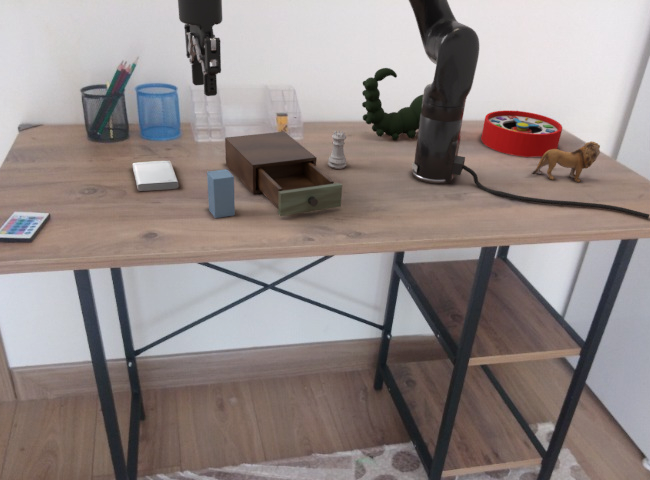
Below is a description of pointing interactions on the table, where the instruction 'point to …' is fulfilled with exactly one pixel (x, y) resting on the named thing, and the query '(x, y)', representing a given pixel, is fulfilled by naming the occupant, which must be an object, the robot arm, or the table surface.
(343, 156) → the rook chess piece
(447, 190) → the table surface
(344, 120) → the table surface
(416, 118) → the toy figurine
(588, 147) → the lion figurine
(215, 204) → the slate block
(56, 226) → the table surface
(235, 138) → the cabinet
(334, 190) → the drawer
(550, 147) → the toy clock
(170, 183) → the hard drive
